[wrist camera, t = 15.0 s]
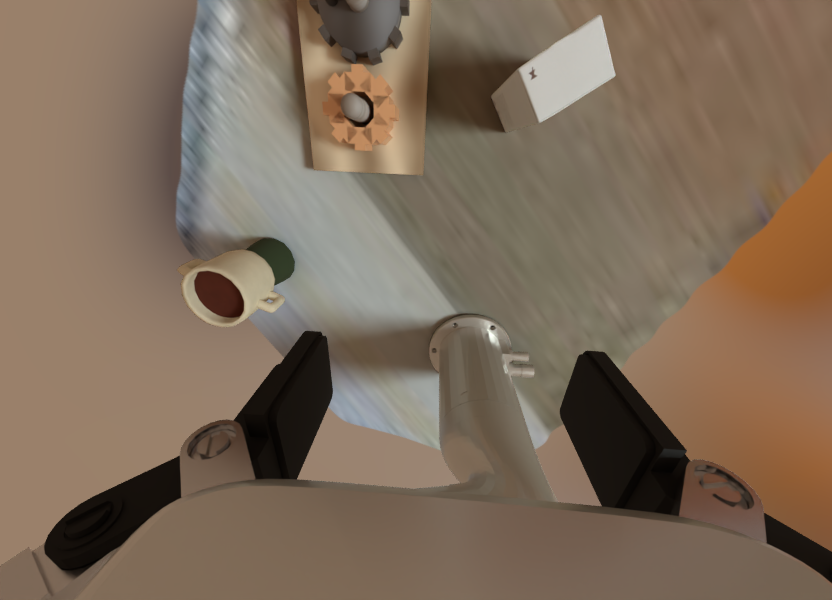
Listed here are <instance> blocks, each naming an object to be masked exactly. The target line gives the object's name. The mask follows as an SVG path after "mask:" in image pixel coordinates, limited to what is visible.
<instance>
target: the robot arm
mask: <svg viewBox="0 0 832 600" xmlns="http://www.w3.org/2000/svg"><path fill="white" fill-rule="evenodd" d="M492 325H493V326H492ZM429 356H430V361H431V363H432V365H433V367H434V368H435V369H436V371H437V372H438V373H439V440H440V448H441V452H442V455H443V457H444V460H445V462H446V464H447V466H448V467H449V469H450V470H451V472H452V473H453V474H454V476H455V477H456V479H457V480H458V481H459V482H460V483H459V484H452V485H449V486H439V487H428V488H417V489H410V488H399V487H387V486H376V485H364V484H352V483H340V482H325V481H311V480H297V478H298V475H299V473H300V471H301V468H302V466H303V464H304V461H305V459H306V457H307V454H308V452H309V450H310V448H311V445H312V443H313V441H314V438H315V436H316V434H317V431H318V429H319V427H320V424H321V422H322V420H323V417H324V415H325V413H326V411H327V408H328V406H329V404H330V401H331V399H332V394H333V388H332V379H331V370H330V361H329V352H328V343H327V337H326V336H323V335H322V333H321V332H315V331H305V332H304V333H303V334H302V335H301V337H300V338H299V339H298V341H297V342H296V343H295V345H294V346H293V347H292V349H291V350H290V351H289V353H288V354H287V355H286V357H285V358H284V359H283V361H282V362H281V364H278V365H276V366H275V367H274V368H273V370H272V371H271V372H270V373H269V375H268V376H267V377H266V379H265V380H264V381H263V383H262V384H261V385H260V387H259V388H258V389H257V390H256V392H255V393H254V395H253V396H252V397H251V398H250V400H249V401H248V402H247V404H246V405H245V406H244V407H243V409H242V410H241V411H240V413H239V414H238V415H237V417H236V418H235V419H234V420H219V421H215V422H212V423H209V424H207V425H205V426H203V427H201V428H200V429H198V430H197V431H195V432H194V433H193V434H191V435H190V436H189V437H188V438H187V440H186V441H185V442H184V444H183V446H182V447H181V451H180V456H178V457H176V458H174V459H172V460H170V461H168V462H166V463H164V464H161V465H159V466H157V467H155V468H153V469H151V470H149V471H147V472H144V473H142V474H140V475H138V476H136V477H134V478H132V479H130V480H128V481H125V482H123V483H121V484H119V485H117V486H115V487H113V488H111V489H108V490H106V491H104V492H102V493H100V494H98V495H96V496H94V497H92V498H90V499H88V500H87V501H85V502H83V503H81V504H80V505H78V506H77V507H75V508H74V509H73V510H71V511H70V512H69V513H67V514H66V515H65V516H64V517H63V518H62V519H61V520H60V521H59V522H58V523H57V524H56V525H55V527H54V528H53V529H52V531H51V532H50V534H49V535H48V537H47V539H46V542H45V543H44V544H43V545H41V546H40V547H38V548H37V549H35V550H34V551H32V550H31V549H30V548H29V547H28V548H27V549H25V550H24V551H22V552H21V553H19V554H18V555H16V556H15V557H13V558H12V559H10V560H8V561H7V562H5V563H4V564H2V565H1V566H0V600H832V552H831V551H829V550H828V549H826V548H824V547H822V546H820V545H819V544H817V543H815V542H814V541H812V540H810V539H809V538H807V537H805V536H803V535H802V534H800V533H798V532H796V531H795V530H793V529H791V528H790V527H788V526H786V525H784V524H783V523H781V522H779V521H777V520H776V519H774V518H772V517H771V516H769V515H767V514H765V513H764V509H763V505H762V502H761V499H760V498H759V496H758V495H757V494H756V492H755V491H754V490H753V489H752V488H751V487H750V486H749V485H748V484H747V483H746V482H745V481H744V480H743V479H741V478H740V477H739V476H737V475H736V474H734V473H733V472H731V471H729V470H728V469H726V468H724V467H722V466H720V465H718V464H715V463H713V462H709V461H705V460H692V461H690V460H689V459H688V458H687V456H686V455H685V453H686V451H687V450H686V449H685V448H684V447H683V445H682V444H681V443H680V442H679V441H678V439H677V438H676V437H675V436H674V435H673V434H672V432H671V431H670V430H669V429H668V428H667V426H666V425H665V424H664V423H663V421H662V420H661V419H660V418H659V417H658V415H657V414H656V413H655V412H654V411H653V410H652V408H651V407H650V406H649V405H648V404H647V402H646V401H645V400H644V399H643V398H642V396H641V395H640V394H639V393H638V392H637V390H636V389H635V388H634V387H633V386H632V384H631V383H630V382H629V381H628V380H627V378H626V377H625V376H624V375H623V374H622V373H621V371H620V370H619V369H618V368H617V366H616V365H615V364H614V363H613V362H612V360H611V359H610V358H609V357H608V356H607V354H605V353H604V352H598V351H585V352H584V353H583V354H581V355H579V356H578V359H577V362H576V364H575V367H574V370H573V373H572V376H571V379H570V382H569V385H568V387H567V390H566V393H565V396H564V399H563V402H562V405H561V408H560V416H561V419H562V421H563V423H564V426H565V428H566V430H567V432H568V434H569V436H570V439H571V441H572V443H573V445H574V447H575V449H576V451H577V454H578V456H579V458H580V460H581V462H582V464H583V467H584V469H585V471H586V473H587V475H588V477H589V479H590V482H591V484H592V486H593V488H594V490H595V492H596V495H597V496H598V499H599V501H600V503H601V505H602V506H591V505H581V504H570V503H561V502H558V501H557V499H556V497H555V495H554V493H553V491H552V489H551V487H550V485H549V483H548V481H547V479H546V476H545V474H544V472H543V470H542V467H541V465H540V462H539V460H538V457H537V455H536V452H535V449H534V446H533V443H532V440H531V437H530V434H529V431H528V428H527V425H526V422H525V419H524V416H523V413H522V410H521V407H520V404H519V400H518V397H517V394H516V391H515V388H514V385H513V382H512V379H511V377H512V376H520V377H528V378H533V376H534V366H533V365H528V364H512V360H515V361H523V362H528V360H529V354H528V352H512V347H511V342H510V339H509V336H508V334H507V333H506V331H505V329H504V328H503V327H502V326H501V325H500V324H499V323H497V322H496V321H494V320H492V319H490V318H488V317H485V316H481V315H471V314H470V315H461V316H458V317H454V318H452V319H450V320H448V321H446V322H445V323H443V324H442V325H440V327H439V328H438V329H437V330H436V331H435V332H434V334H433V336H432V338H431V341H430V346H429Z"/></svg>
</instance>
